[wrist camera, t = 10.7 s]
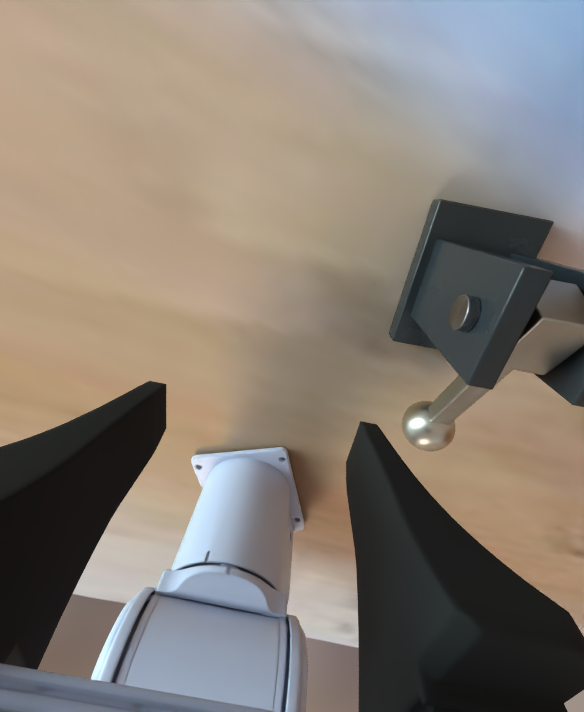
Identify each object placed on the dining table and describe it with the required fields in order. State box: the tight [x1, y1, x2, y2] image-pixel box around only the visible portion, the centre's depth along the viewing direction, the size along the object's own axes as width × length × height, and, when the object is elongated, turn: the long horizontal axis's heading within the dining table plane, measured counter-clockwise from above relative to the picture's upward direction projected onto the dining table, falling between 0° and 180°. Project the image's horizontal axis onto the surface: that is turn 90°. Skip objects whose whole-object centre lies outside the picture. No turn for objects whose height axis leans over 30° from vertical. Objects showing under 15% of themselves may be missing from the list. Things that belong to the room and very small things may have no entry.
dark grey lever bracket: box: [389, 200, 584, 407], centre depth 15 cm, size 8×6×9 cm
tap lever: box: [402, 280, 584, 451], centre depth 16 cm, size 12×3×3 cm, turn 170°
